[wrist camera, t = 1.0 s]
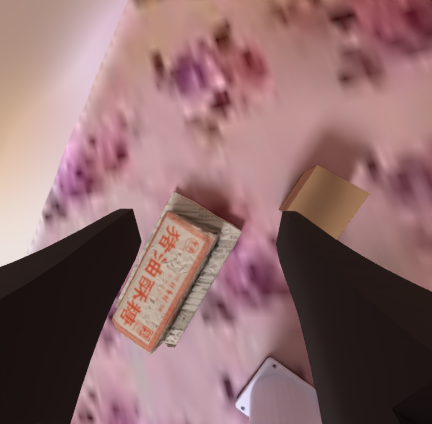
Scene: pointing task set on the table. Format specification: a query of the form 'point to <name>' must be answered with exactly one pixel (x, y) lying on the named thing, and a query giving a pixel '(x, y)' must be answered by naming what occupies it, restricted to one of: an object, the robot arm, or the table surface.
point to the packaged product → (173, 273)
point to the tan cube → (325, 200)
